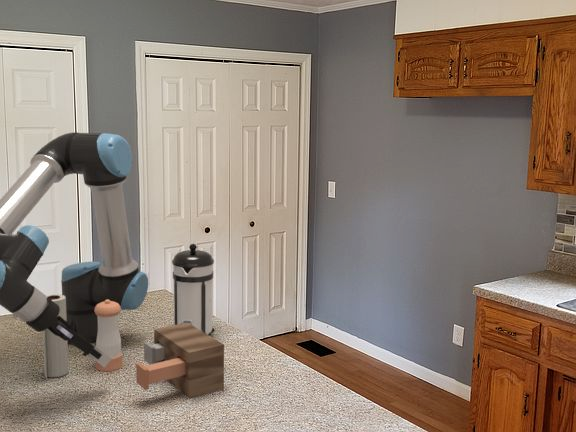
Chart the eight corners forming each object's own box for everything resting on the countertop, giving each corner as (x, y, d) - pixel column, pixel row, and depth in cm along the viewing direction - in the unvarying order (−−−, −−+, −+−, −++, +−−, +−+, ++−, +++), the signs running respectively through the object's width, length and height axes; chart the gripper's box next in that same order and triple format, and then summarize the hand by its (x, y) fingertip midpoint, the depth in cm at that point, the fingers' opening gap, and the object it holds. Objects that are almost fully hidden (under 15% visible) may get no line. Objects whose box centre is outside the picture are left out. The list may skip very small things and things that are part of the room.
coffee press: (228, 338, 198) (229, 245, 193) (181, 348, 189) (180, 251, 184) (203, 322, 212) (203, 235, 207) (158, 331, 203) (157, 240, 198)
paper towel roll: (62, 367, 174) (59, 292, 170) (72, 373, 170) (69, 297, 166) (36, 374, 169) (33, 297, 165) (46, 381, 165) (42, 302, 161)
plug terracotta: (136, 382, 155) (136, 363, 154) (187, 369, 163) (187, 351, 162) (145, 390, 151) (144, 370, 150) (196, 376, 159) (196, 357, 158)
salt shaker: (111, 359, 180) (109, 294, 177) (128, 365, 176) (126, 299, 173) (90, 367, 174) (87, 300, 171) (107, 373, 170) (105, 305, 167)
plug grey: (144, 360, 169) (143, 342, 168) (190, 349, 177) (190, 332, 176) (152, 366, 165) (151, 348, 164) (199, 355, 173) (199, 337, 172)
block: (154, 371, 173) (154, 329, 171) (187, 363, 179) (187, 322, 177) (189, 398, 157) (188, 352, 155) (223, 388, 163) (224, 344, 161)
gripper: (17, 315, 151) (87, 365, 163) (32, 330, 140) (107, 383, 153) (39, 290, 153) (107, 342, 166) (56, 304, 143) (127, 358, 156)
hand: (107, 362), depth 159 cm, fingers closed
